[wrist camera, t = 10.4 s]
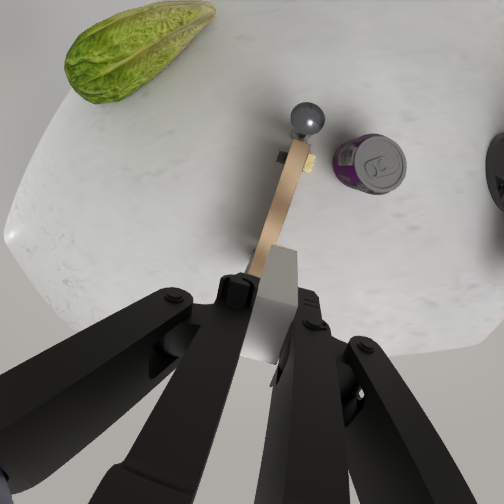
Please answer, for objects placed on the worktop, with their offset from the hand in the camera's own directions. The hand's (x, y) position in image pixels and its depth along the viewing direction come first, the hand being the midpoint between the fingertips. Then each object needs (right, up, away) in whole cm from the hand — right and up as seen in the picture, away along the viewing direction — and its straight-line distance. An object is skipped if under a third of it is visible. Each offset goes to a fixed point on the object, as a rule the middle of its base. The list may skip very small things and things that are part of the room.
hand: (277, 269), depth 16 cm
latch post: (+5, +18, +22) cm, 28 cm away
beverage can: (+14, +14, +22) cm, 29 cm away
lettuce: (-18, +34, +20) cm, 43 cm away
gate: (+2, +9, +24) cm, 25 cm away
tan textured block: (+6, +14, +23) cm, 27 cm away
